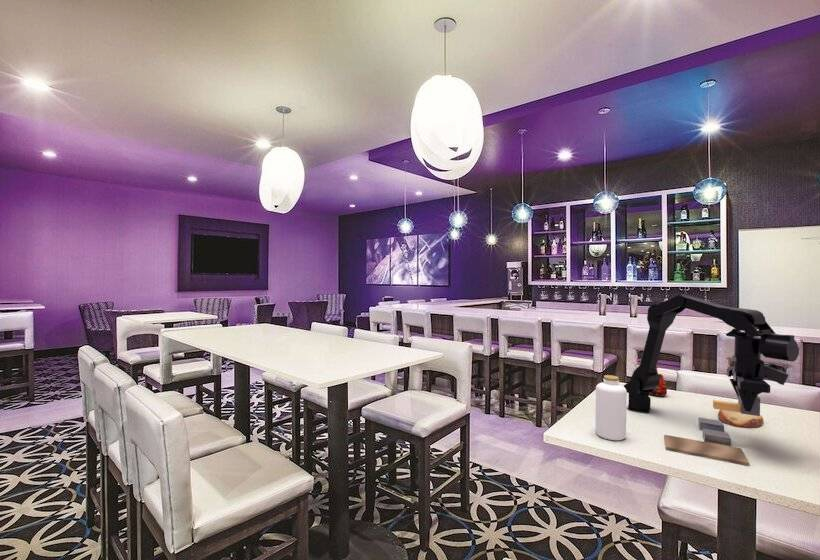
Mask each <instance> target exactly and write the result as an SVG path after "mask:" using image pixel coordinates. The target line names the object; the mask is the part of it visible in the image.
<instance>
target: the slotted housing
mask: <svg viewBox="0 0 820 560" xmlns="http://www.w3.org/2000/svg"><path fill="white" fill-rule="evenodd" d="M697 421H698V422H697V425H698V428H699V431H702V439H703V442H709V443H714V444H720V445H725V446H731V447H732V437H731V435H730V434H729V432H726V431H725V425H724V422H723V421H722V420H720V419H719V420H718V419H712V418H711V419H710V418H704V417H698V419H697Z"/></svg>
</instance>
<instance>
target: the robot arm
mask: <svg viewBox="0 0 820 560" xmlns="http://www.w3.org/2000/svg"><path fill="white" fill-rule="evenodd" d="M686 309H688V310H691V311H693V312H697V313H699V314H703V315H705V316H709V317H713V318H715V319H718V320H721V321H722V322H723V323H725V324H726V325H727V326H730V327H732V329H731V330H730V331H728V332H727V333H725V337H731V338H734V349H733V350H734V351H733V353H734V354H733V355H732V360H733V366H732V365H731V366H728V367H727V368H726V376H727V377H728V378H729V382H730V384H731V385H732V388H733V390H734V392H735V394H736V397H737V398H738V394H739V396H740V399H741V401H742V404H743V406H744V408H745V410H746V411H751V409H752V407H753V404H754V401H755V399H756V397H757V396H759V395H760V394H762V393H763V394H764V393H765V394H771V385H770V384H769V383H768V382H767V381H766V380H765V379H768V380H771V381H773V382H775V383H777V384H779V385H783V386H785V383H786V382H787V380H788V378H789V376H790V374H788V373H787V372H785V371H783V370H781V369H779V365H778V364H775V363H773V362H769V363H768V364H765V362H764V360H762V358H761V355H762V356H763V357H764V358H769V359H774V360H779V361H785V362H791V363H792V362H796V361H797V360H798V357H799V354H800V347H799V344H798V343H797V341H796V340H795V335H794V334H793V335H791V334H780V333H776V332H775V331H774V329H773V328H772V327H771V326H770V324H769V323H768V322H767V321H766V317H765V315H764V313H763V312H762V311H759V310H758V309H757V310H756V309H750V308H743V307H739V308H738V307H732V306H726V305H723V304H719V303H716V302H714V301H713V302H712V301H709V300H706V299H702V298H698V297H695V296H692V295H691V294H677V295H676V296H674V297H671V298H669V299H668V300H664V301H662V302H659V303H654V304H652V305H650V306H648V309H647V317H646V319H647V324H648V326H649V328H648V333H647V337H646V341H645V343H644V344H645V345H644V348H643V352H642V355H641V360H640V363H639V365H638V366H637V367H636V368H635V370H634V371H633V372H632V374H631V376H630V377H631V378H630V379H629V381H628V382H626V383H625V384H624V385H623V386H624V387H625V389H626V391H627V394H628V406H627V410H628V411H633V412H640V413H644V414H645V413H646V414H649V413H650V411H651V403H652V402H651V400H652V399H651V396H650V395H649V393H653V390H654V388H656V387H657V385H659V380H660V378H661V373H659V372H658V373H657V371H658V369H657V370H656V366H658V362H659V357H660V354H661V349H662V348H663V347H662V346H663V342H664V339H665V335H666V331H667V330H668V329H669V328H670V326H671V325H672V324H673V323H674V320H675V319H676V317H677V315H678V314H681V313H682V312H684V311H685V310H686ZM731 377H732V378H731Z"/></svg>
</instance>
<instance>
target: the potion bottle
mask: <svg viewBox="0 0 820 560" xmlns="http://www.w3.org/2000/svg"><path fill="white" fill-rule="evenodd" d="M619 378H620V377H619V376H616V375H611V374H606V375H603V379H602V380H603V382H599V383H598V384H596V386H595V422H594V423H595V433H596V435H598V436H599V437H601V438H603V439H606V440H609V441H622V440H624V439H625V438H626V436H627V408H628V406H627V403H628V401H627V399H628V397H627V395H628V393H627V391H626V389H625V387H624V385H622V384H620V380H619Z"/></svg>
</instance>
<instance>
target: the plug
mask: <svg viewBox="0 0 820 560" xmlns="http://www.w3.org/2000/svg"><path fill="white" fill-rule="evenodd" d="M737 401H738V402H731V401H723V400H715V399H713V400H712V407H713V409H714V410H727V411H734V412H740V413H741V414H748V415H755V416H760V415H761V397H760V396H759V395H757V397H756V399H755V401H754V404H753V407H752V409H751V411H746V410H745V408H744V406H743V404H742V401H741V399H740V396H739V394H738V397H737Z"/></svg>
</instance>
